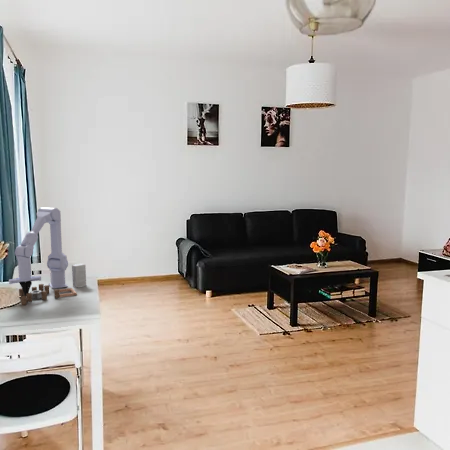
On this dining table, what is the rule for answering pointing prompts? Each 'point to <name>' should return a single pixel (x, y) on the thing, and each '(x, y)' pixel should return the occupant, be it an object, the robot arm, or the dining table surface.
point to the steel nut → (36, 294)
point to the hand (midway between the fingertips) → (26, 296)
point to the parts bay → (67, 293)
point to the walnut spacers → (29, 295)
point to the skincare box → (79, 275)
